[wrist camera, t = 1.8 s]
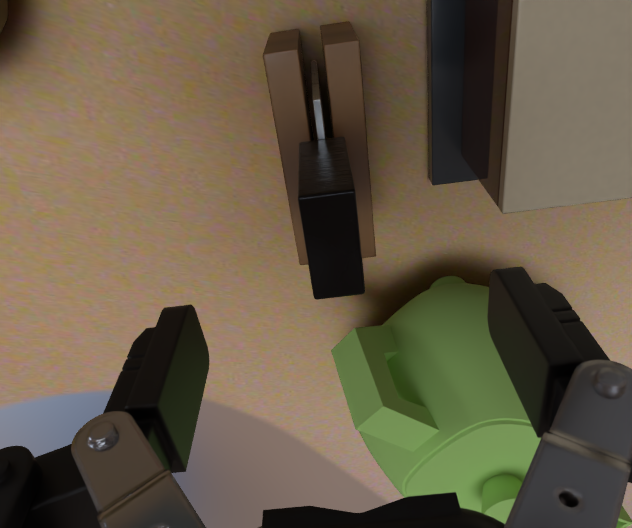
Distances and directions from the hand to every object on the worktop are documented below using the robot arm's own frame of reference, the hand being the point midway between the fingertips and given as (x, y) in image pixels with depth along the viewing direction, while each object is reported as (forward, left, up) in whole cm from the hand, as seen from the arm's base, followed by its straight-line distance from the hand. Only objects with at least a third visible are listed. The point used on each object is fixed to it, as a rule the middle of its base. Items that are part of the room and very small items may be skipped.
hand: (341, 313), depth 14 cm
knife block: (0, 0, -15) cm, 15 cm away
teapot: (+16, +7, -16) cm, 23 cm away
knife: (0, 0, -15) cm, 15 cm away
